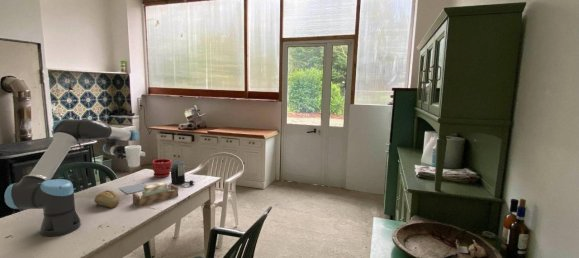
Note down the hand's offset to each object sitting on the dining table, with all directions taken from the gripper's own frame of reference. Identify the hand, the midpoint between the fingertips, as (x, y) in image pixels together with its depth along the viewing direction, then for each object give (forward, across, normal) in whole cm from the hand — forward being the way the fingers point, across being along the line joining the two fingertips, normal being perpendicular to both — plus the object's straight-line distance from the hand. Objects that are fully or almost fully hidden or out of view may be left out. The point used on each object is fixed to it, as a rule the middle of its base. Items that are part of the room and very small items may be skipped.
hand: (137, 155), depth 187 cm
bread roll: (+9, +24, -23) cm, 35 cm away
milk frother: (+13, -25, -23) cm, 36 cm away
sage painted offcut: (+24, +3, -19) cm, 30 cm away
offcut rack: (+24, +3, -23) cm, 33 cm away
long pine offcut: (+24, +3, -22) cm, 32 cm away
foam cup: (-4, 0, -8) cm, 9 cm away
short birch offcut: (+24, +3, -16) cm, 29 cm away
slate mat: (-4, 0, -23) cm, 24 cm away
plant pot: (-15, -27, -23) cm, 39 cm away
